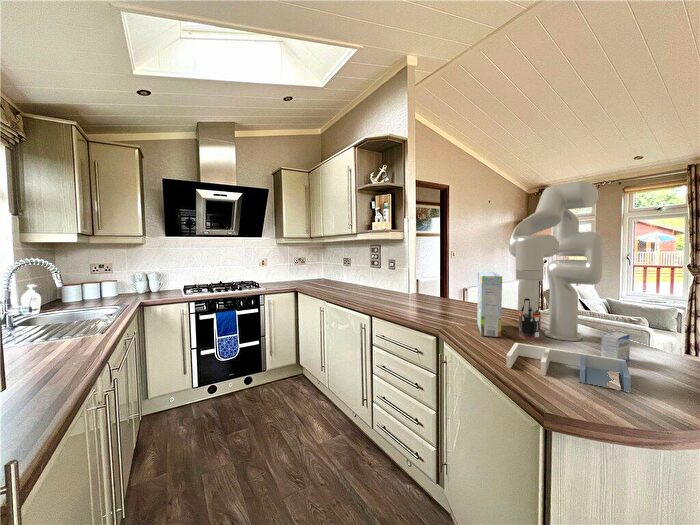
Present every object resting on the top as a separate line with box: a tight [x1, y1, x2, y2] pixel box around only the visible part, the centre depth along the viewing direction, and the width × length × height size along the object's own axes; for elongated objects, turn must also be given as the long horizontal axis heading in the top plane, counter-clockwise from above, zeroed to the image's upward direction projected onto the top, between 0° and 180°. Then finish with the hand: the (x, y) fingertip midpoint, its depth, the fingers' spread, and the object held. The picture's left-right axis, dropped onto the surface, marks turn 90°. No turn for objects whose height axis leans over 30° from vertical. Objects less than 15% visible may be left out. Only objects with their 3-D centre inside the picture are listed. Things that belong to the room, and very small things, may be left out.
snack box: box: [476, 271, 503, 338], centre depth 135 cm, size 22×9×26 cm, turn 161°
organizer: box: [505, 342, 632, 392], centre depth 92 cm, size 15×29×4 cm, turn 52°
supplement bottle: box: [518, 308, 541, 341], centre depth 97 cm, size 6×6×11 cm
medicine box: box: [601, 331, 631, 362], centre depth 97 cm, size 8×4×9 cm, turn 117°
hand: (529, 329), depth 97 cm, fingers closed on supplement bottle, 5 cm apart
